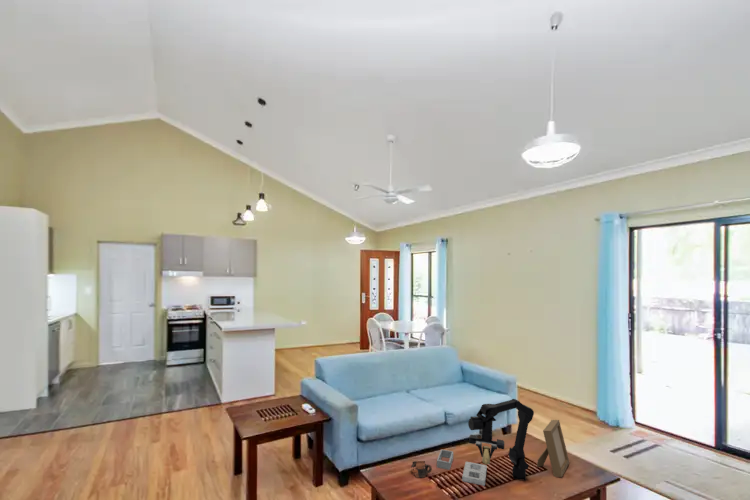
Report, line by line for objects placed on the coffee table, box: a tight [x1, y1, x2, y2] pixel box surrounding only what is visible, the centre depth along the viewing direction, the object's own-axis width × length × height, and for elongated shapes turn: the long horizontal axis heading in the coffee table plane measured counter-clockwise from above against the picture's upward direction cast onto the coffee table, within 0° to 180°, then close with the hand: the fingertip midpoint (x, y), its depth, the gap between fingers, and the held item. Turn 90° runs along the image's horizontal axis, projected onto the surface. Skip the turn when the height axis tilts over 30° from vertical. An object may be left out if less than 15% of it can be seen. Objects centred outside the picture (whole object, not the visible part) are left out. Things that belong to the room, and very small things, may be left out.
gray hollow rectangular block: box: [436, 449, 454, 471], centre depth 230 cm, size 8×15×4 cm, turn 161°
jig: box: [461, 461, 488, 487], centre depth 217 cm, size 12×18×2 cm, turn 161°
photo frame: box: [536, 419, 570, 478], centre depth 230 cm, size 15×22×25 cm
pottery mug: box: [411, 460, 433, 479], centre depth 217 cm, size 12×10×8 cm
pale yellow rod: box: [481, 445, 491, 465], centre depth 211 cm, size 4×4×8 cm
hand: (486, 457), depth 211 cm, fingers closed on pale yellow rod, 4 cm apart
